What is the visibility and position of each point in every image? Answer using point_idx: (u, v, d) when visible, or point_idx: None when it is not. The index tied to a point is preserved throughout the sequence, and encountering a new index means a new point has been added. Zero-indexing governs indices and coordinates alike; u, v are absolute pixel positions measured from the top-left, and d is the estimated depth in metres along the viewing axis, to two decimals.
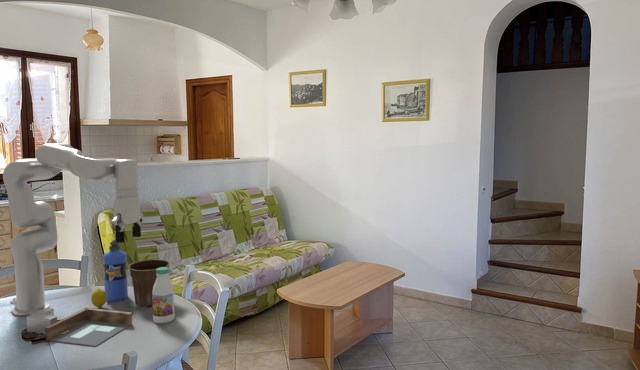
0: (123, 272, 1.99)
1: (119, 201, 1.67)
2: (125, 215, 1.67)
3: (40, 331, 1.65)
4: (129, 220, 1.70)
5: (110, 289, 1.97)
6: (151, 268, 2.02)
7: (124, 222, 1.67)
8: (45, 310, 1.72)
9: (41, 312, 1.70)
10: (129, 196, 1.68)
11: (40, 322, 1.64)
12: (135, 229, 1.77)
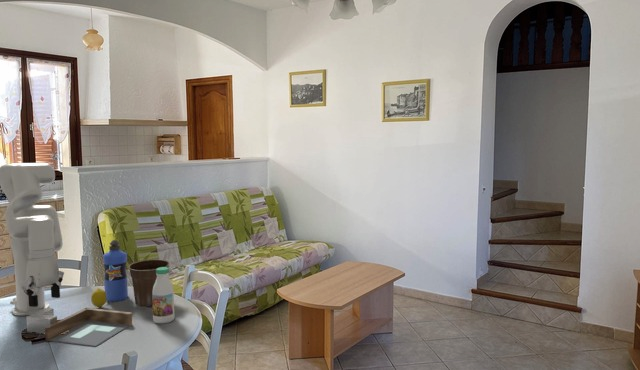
0: (123, 272, 1.99)
1: (32, 263, 1.59)
2: (38, 278, 1.59)
3: (40, 331, 1.65)
4: (43, 282, 1.61)
5: (110, 289, 1.97)
6: (151, 268, 2.02)
7: (37, 285, 1.59)
8: (45, 310, 1.71)
9: (41, 312, 1.70)
10: (43, 258, 1.60)
11: (40, 322, 1.64)
12: (54, 289, 1.68)
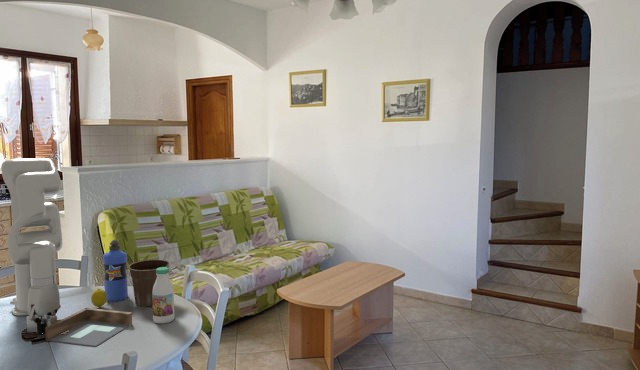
0: (123, 272, 1.99)
1: (33, 291, 1.60)
2: (39, 306, 1.60)
3: None
4: (45, 310, 1.62)
5: (110, 289, 1.97)
6: (151, 268, 2.02)
7: (38, 313, 1.60)
8: None
9: None
10: (44, 286, 1.61)
11: None
12: None
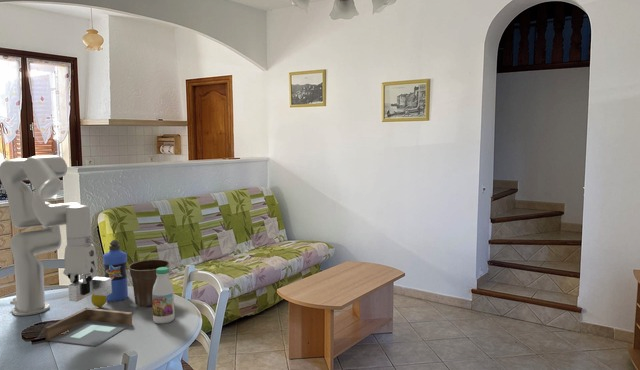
0: (123, 272, 1.99)
1: None
2: (65, 263, 1.61)
3: None
4: (70, 269, 1.60)
5: None
6: (151, 268, 2.02)
7: (64, 269, 1.61)
8: (102, 278, 1.65)
9: (97, 278, 1.65)
10: (67, 245, 1.59)
11: None
12: None
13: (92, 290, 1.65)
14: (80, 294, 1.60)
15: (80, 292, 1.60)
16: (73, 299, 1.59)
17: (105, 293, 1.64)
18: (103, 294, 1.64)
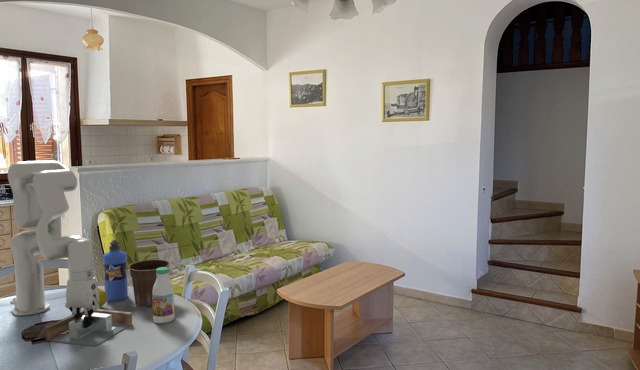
0: (123, 272, 1.99)
1: None
2: (66, 296, 1.62)
3: None
4: (72, 303, 1.61)
5: (110, 289, 1.97)
6: (151, 268, 2.02)
7: (66, 303, 1.62)
8: (102, 315, 1.66)
9: (97, 315, 1.66)
10: None
11: None
12: None
13: (92, 327, 1.65)
14: (80, 331, 1.60)
15: (80, 329, 1.61)
16: (73, 336, 1.59)
17: (105, 330, 1.64)
18: (103, 331, 1.65)
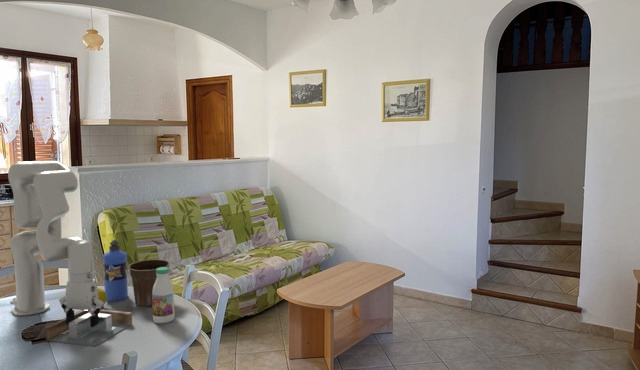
0: (123, 272, 1.99)
1: None
2: (66, 298, 1.62)
3: None
4: (71, 304, 1.62)
5: (110, 289, 1.97)
6: (151, 268, 2.02)
7: (66, 304, 1.62)
8: (102, 315, 1.66)
9: None
10: (68, 280, 1.60)
11: None
12: None
13: (92, 327, 1.65)
14: (80, 331, 1.60)
15: (80, 329, 1.61)
16: (73, 336, 1.59)
17: (105, 330, 1.64)
18: (103, 331, 1.65)
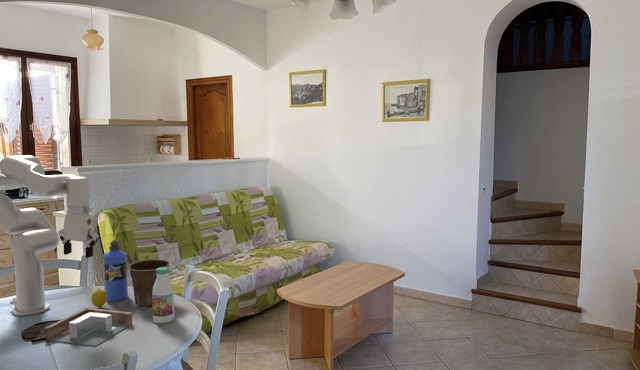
0: (123, 272, 1.99)
1: None
2: (64, 229, 1.73)
3: None
4: (68, 236, 1.73)
5: (110, 289, 1.97)
6: (151, 268, 2.02)
7: (64, 236, 1.74)
8: (102, 315, 1.66)
9: (97, 315, 1.66)
10: (66, 213, 1.71)
11: None
12: None
13: (92, 327, 1.65)
14: (80, 331, 1.60)
15: (80, 329, 1.61)
16: (73, 336, 1.59)
17: (105, 330, 1.64)
18: (103, 331, 1.65)
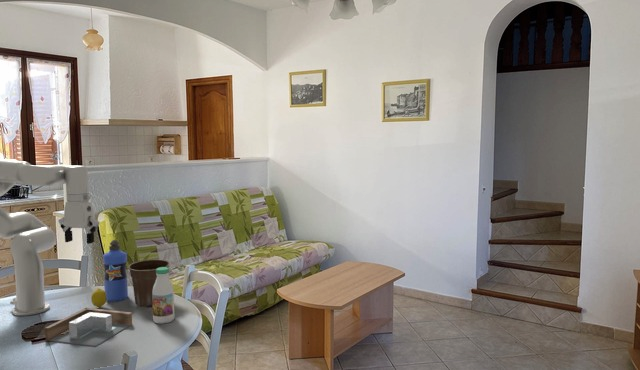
0: (123, 272, 1.99)
1: None
2: (64, 217, 1.79)
3: None
4: (69, 223, 1.78)
5: (110, 289, 1.97)
6: (151, 268, 2.02)
7: (64, 223, 1.79)
8: (102, 315, 1.66)
9: (97, 315, 1.66)
10: None
11: None
12: None
13: (92, 327, 1.65)
14: (80, 331, 1.60)
15: (80, 329, 1.61)
16: (73, 336, 1.59)
17: (105, 330, 1.64)
18: (103, 331, 1.65)
